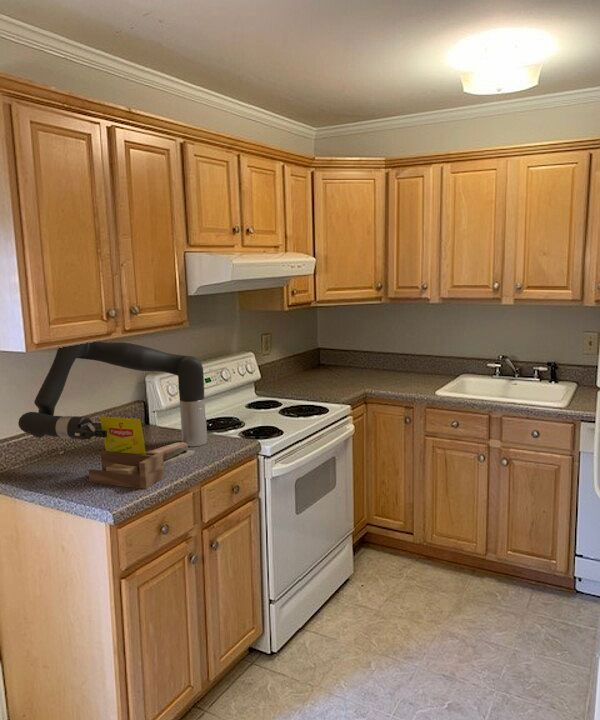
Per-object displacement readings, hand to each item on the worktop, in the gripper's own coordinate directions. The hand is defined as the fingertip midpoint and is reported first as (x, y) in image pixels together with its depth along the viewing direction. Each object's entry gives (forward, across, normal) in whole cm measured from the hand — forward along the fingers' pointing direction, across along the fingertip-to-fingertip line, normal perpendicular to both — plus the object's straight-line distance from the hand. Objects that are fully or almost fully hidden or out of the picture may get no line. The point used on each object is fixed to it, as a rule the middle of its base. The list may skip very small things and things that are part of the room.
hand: (114, 430), depth 191 cm
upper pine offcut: (+5, -4, +13) cm, 14 cm away
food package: (+4, +1, +15) cm, 16 cm away
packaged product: (+7, +19, +16) cm, 25 cm away
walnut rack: (+6, -3, +15) cm, 16 cm away
